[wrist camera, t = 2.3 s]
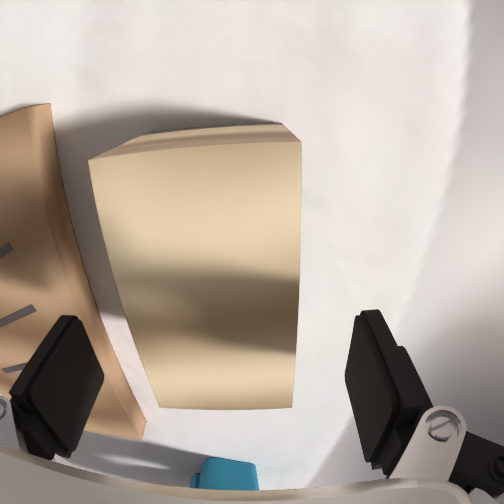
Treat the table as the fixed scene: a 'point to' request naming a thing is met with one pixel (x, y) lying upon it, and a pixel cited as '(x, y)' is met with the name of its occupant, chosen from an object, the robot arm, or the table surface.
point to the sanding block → (207, 260)
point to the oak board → (48, 269)
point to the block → (226, 475)
